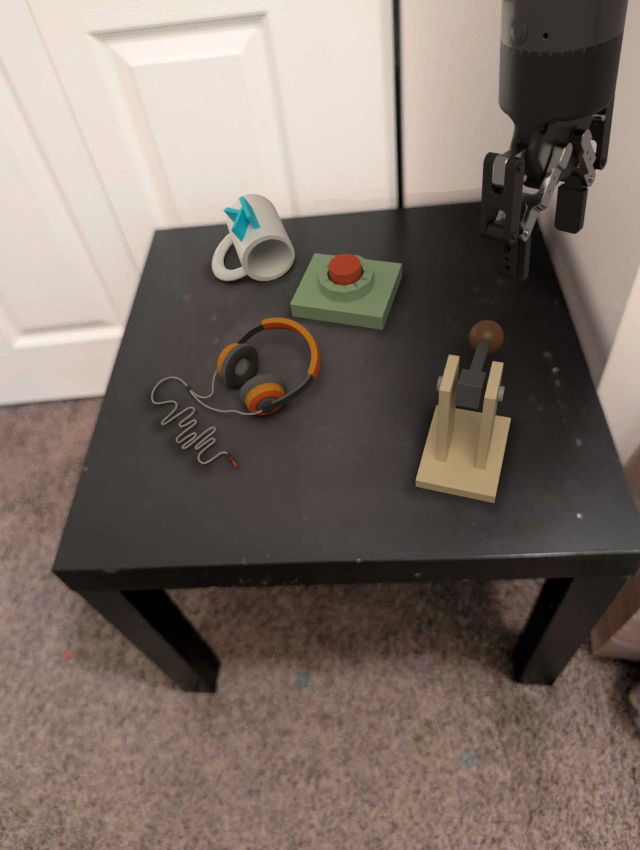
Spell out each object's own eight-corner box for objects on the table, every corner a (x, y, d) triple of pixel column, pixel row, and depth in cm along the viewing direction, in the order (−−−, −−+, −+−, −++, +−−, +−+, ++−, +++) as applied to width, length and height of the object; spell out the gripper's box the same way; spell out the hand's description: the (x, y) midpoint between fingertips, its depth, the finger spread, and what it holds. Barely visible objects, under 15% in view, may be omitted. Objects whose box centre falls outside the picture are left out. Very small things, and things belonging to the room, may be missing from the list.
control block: (402, 276, 88) (401, 252, 85) (382, 330, 83) (381, 306, 79) (316, 265, 91) (312, 242, 88) (292, 316, 86) (287, 293, 83)
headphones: (129, 384, 78) (262, 279, 80) (152, 406, 83) (278, 306, 84) (195, 481, 69) (344, 361, 71) (217, 499, 74) (356, 386, 75)
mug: (245, 164, 90) (267, 214, 83) (281, 210, 97) (304, 259, 90) (177, 216, 93) (193, 268, 85) (217, 256, 100) (235, 308, 92)
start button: (365, 266, 85) (364, 255, 83) (356, 287, 82) (355, 276, 81) (335, 262, 86) (333, 251, 84) (325, 283, 84) (324, 272, 82)
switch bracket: (436, 411, 74) (439, 330, 64) (509, 424, 72) (525, 342, 62) (415, 486, 69) (415, 411, 59) (494, 503, 67) (508, 427, 56)
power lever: (469, 342, 73) (473, 312, 71) (503, 347, 72) (508, 317, 70) (446, 409, 62) (450, 375, 60) (485, 416, 61) (490, 382, 59)
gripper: (558, 69, 37) (537, 311, 48) (669, -3, 44) (628, 225, 55) (446, 58, 41) (450, 283, 53) (563, -6, 48) (544, 206, 59)
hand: (541, 253), depth 54 cm, fingers open, 8 cm apart
